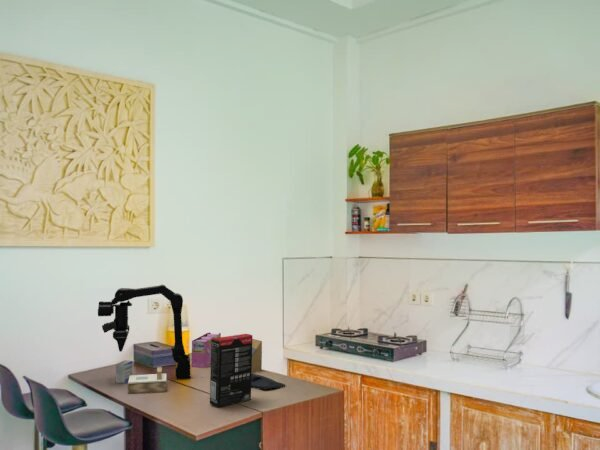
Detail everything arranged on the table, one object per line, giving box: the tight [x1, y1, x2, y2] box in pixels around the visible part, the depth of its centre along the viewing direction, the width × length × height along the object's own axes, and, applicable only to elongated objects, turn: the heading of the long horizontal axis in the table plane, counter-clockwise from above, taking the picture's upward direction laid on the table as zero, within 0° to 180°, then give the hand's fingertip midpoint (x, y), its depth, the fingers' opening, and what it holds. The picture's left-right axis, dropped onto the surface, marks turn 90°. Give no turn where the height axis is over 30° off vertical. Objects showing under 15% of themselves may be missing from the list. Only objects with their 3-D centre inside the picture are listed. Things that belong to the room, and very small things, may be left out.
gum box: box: [191, 332, 222, 369], centre depth 309 cm, size 24×8×14 cm, turn 167°
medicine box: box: [115, 359, 134, 384], centre depth 272 cm, size 8×4×9 cm, turn 168°
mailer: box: [127, 381, 167, 395], centre depth 259 cm, size 16×12×4 cm
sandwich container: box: [252, 338, 263, 374], centre depth 290 cm, size 9×15×15 cm, turn 137°
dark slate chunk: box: [251, 372, 286, 391], centre depth 267 cm, size 15×22×5 cm
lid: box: [127, 366, 167, 385], centre depth 259 cm, size 16×12×4 cm
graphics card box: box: [209, 333, 254, 408], centre depth 240 cm, size 17×7×27 cm, turn 133°
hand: (121, 349), depth 272 cm, fingers open, 9 cm apart
